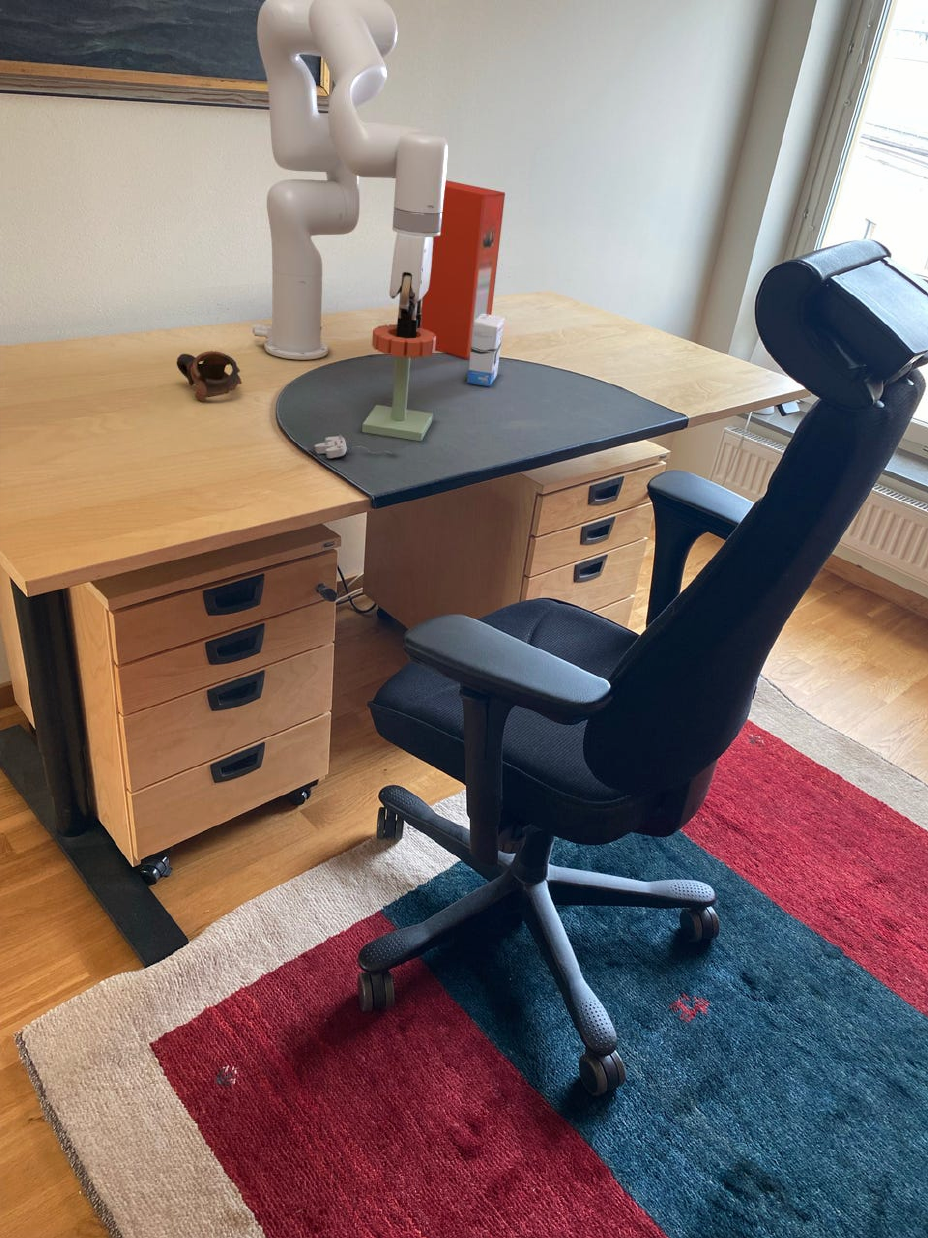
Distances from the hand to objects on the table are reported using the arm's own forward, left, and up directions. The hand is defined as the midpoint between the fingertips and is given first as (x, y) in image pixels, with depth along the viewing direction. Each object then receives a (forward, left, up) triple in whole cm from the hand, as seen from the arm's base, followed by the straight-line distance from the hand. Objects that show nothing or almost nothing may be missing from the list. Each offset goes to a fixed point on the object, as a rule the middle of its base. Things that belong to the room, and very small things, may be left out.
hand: (408, 339), depth 156 cm
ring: (0, -4, 0) cm, 4 cm away
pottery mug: (-34, -2, -14) cm, 37 cm away
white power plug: (-4, -19, -14) cm, 24 cm away
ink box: (+10, +29, -14) cm, 34 cm away
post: (0, -4, -14) cm, 14 cm away
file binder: (-1, +48, -14) cm, 50 cm away
